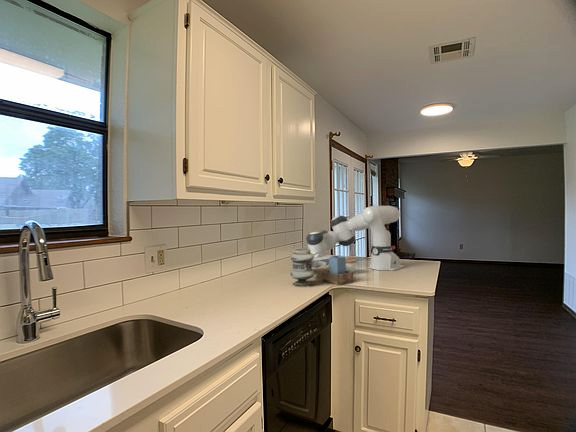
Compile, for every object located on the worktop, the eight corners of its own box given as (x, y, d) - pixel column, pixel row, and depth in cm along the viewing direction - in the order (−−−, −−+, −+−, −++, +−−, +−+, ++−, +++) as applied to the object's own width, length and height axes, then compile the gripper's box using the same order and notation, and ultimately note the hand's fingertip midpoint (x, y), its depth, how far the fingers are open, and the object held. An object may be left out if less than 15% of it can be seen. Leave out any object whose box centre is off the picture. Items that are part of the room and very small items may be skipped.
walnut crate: (337, 278, 179) (337, 269, 178) (352, 281, 170) (352, 272, 170) (322, 281, 172) (322, 271, 172) (337, 285, 163) (337, 275, 163)
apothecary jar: (286, 285, 163) (285, 249, 163) (296, 280, 174) (296, 247, 173) (308, 288, 158) (308, 251, 157) (318, 283, 168) (317, 248, 168)
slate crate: (337, 277, 175) (337, 255, 175) (345, 279, 170) (345, 256, 170) (329, 279, 172) (329, 256, 171) (337, 281, 167) (337, 258, 166)
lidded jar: (358, 274, 187) (358, 258, 187) (339, 274, 187) (339, 258, 187) (355, 271, 198) (355, 255, 197) (337, 271, 198) (337, 255, 198)
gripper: (329, 262, 190) (346, 266, 179) (301, 267, 178) (318, 271, 167) (329, 252, 190) (346, 254, 179) (301, 255, 178) (318, 258, 167)
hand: (332, 262), depth 173 cm, fingers open, 8 cm apart
